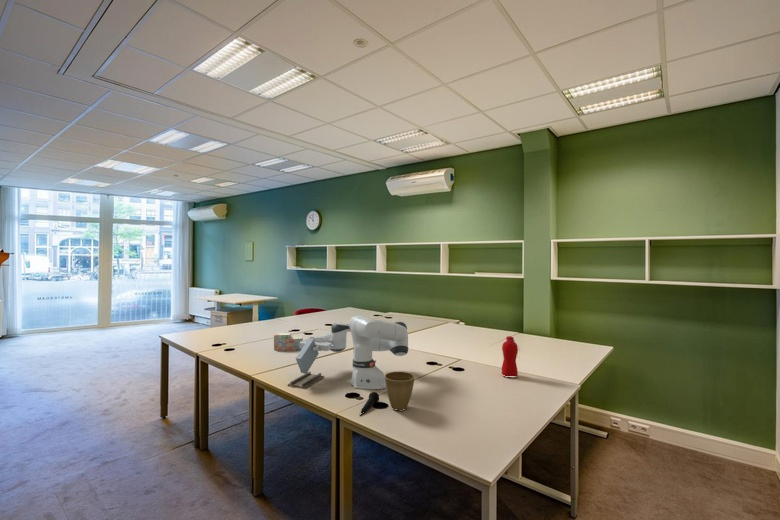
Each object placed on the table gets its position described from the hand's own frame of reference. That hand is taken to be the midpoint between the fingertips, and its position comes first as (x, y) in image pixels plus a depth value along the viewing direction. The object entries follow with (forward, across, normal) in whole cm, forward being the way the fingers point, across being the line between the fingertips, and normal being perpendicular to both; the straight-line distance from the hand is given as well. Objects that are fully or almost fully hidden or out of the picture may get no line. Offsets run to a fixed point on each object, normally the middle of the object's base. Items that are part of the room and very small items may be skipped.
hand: (308, 348), depth 219 cm
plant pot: (+18, -63, -19) cm, 68 cm away
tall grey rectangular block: (-2, 0, -9) cm, 9 cm away
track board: (+2, 0, -19) cm, 19 cm away
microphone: (+23, -48, -19) cm, 57 cm away
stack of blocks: (-55, +52, -19) cm, 78 cm away
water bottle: (-52, -114, -19) cm, 127 cm away
